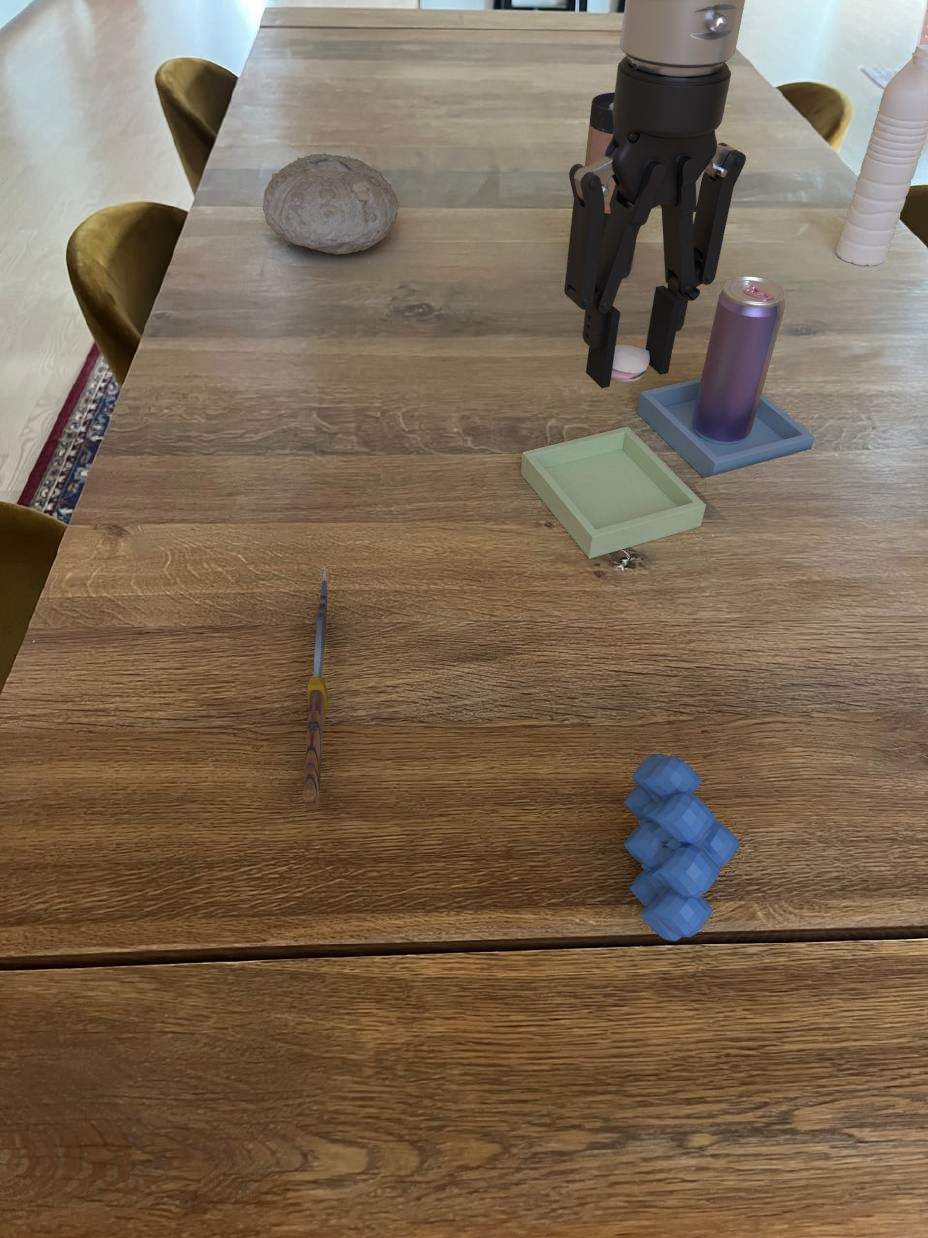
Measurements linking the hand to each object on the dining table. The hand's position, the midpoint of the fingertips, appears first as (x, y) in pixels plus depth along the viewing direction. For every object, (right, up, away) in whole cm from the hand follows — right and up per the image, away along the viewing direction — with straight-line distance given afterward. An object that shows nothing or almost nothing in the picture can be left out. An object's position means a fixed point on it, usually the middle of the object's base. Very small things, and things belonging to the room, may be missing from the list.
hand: (626, 372), depth 79 cm
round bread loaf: (-31, +30, +49) cm, 66 cm away
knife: (-24, -27, -8) cm, 37 cm away
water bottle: (+39, +27, +48) cm, 68 cm away
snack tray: (0, -9, +9) cm, 13 cm away
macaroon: (0, 0, +1) cm, 1 cm away
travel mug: (+5, +25, +44) cm, 51 cm away
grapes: (-1, -38, -19) cm, 43 cm away
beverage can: (+12, -2, +17) cm, 21 cm away
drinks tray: (+12, -2, +17) cm, 21 cm away
